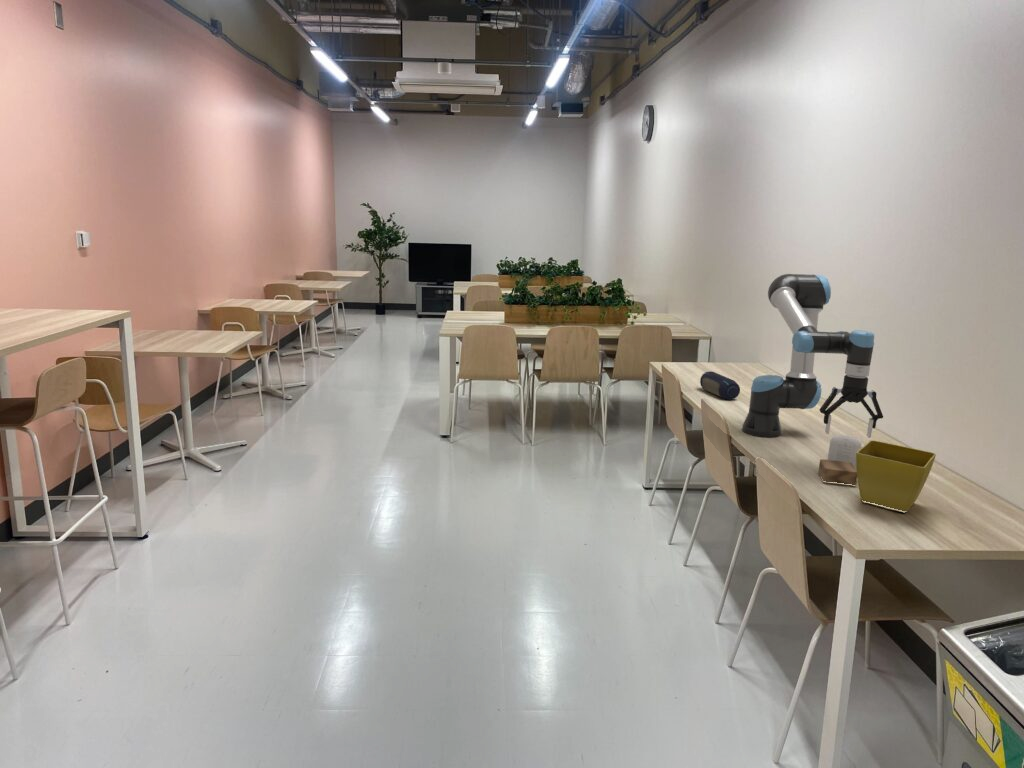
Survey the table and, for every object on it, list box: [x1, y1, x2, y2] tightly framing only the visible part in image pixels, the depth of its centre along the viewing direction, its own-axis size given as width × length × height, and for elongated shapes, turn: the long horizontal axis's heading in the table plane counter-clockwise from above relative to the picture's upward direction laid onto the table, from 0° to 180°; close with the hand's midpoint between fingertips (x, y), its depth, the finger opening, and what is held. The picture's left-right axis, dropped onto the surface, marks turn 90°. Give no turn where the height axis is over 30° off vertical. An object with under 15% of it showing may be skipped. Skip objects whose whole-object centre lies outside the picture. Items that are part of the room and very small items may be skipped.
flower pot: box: [856, 439, 937, 512], centre depth 223 cm, size 19×19×17 cm
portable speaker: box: [699, 370, 741, 401], centre depth 352 cm, size 25×10×10 cm, turn 16°
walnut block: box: [817, 458, 857, 485], centre depth 243 cm, size 10×10×5 cm
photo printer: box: [826, 434, 863, 471], centre depth 253 cm, size 10×4×12 cm, turn 60°
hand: (847, 434), depth 251 cm, fingers open, 13 cm apart
